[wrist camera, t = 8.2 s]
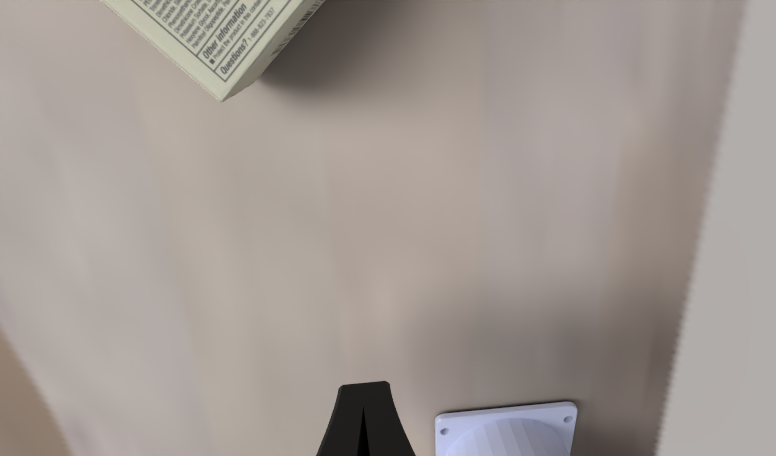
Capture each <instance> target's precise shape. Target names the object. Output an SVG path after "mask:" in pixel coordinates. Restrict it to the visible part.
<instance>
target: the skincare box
mask: <svg viewBox="0 0 776 456" xmlns="http://www.w3.org/2000/svg"><path fill="white" fill-rule="evenodd" d="M100 1H101V2H102V3H103V4H104V5H106V6H107V7H108V8H109V9H110V10H111V11H112V12H114V13H115V14H116V15H117V16H118V17H120V18H121V19H122V20H123V21H124V22H125V23H127V24H128V25H129V26H130V27H131V28H133V29H134V30H135V31H136V32H137V33H138V34H140V35H141V36H142V37H143V38H144V39H146V40H147V41H148V42H149V43H150V44H152V45H153V46H154V47H155V48H156V49H158V50H159V51H160V52H161V53H162V54H164V55H165V56H166V57H167V58H168V59H169V60H171V61H172V62H173V63H174V64H175V65H177V66H178V67H179V68H180V69H181V70H182V71H184V72H185V73H186V74H187V75H188V76H189V77H191V78H192V79H193V80H194V81H195V82H197V83H198V84H199V85H200V86H201V87H202V88H204V89H205V90H206V91H207V92H208V93H209V94H210V95H212V96H213V97H214V98H215V99H216V100H218V101H219V102H221V103H222V102H224V101H225V100H227V99H228V98H230V97H232V96H234V95H236V94H237V93H239V92H240V91H242V90H243V89H245V88H246V87H248V86H250V85H251V84H253V83H254V82H255V81H256V80H257V79H258V78H259V77H260V76H261V75H262V74H263V73H264V71H265V70H266V69H267V67H268V66H269V65H270V64H271V62H272V61H273V60H274V59H275V58H276V56H277V55H278V54H279V53H280V52H281V50H282V49H283V48H284V47H285V46H286V45H287V44H288V42H289V41H290V40H291V39H292V38H293V37H294V36H295V34H296V33H297V32H298V31H299V30H300V29H301V28H302V26H303V25H304V24H305V23H306V22H307V21H308V20H309V18H310V17H311V16H312V15H313V14H314V13H315V12H316V10H317V9H318V8H319V7H320V6H321V5H322V4H323V2H324V1H325V0H100Z"/></svg>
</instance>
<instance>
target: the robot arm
mask: <svg viewBox="0 0 776 456" xmlns="http://www.w3.org/2000/svg"><path fill="white" fill-rule="evenodd" d="M577 412H578V410H577V408H576V406H575V404H574V403H572V402H558V403H548V404H537V405H527V406H517V407H507V408H496V409H486V410H476V411H466V412H455V413H445V414H440V415H439V416H437V417H436V418H435V452H436V456H570V452H571V446H572V441H573V435H574V429H575V424H576V418H577ZM444 428H445V429H444ZM316 456H416V455H415V453H414V451H413V449H412V447H411V445H410V443H409V440H408V438H407V436H406V434H405V432H404V429H403V427H402V424H401V422H400V419H399V417H398V414H397V411H396V408H395V405H394V402H393V398H392V394H391V390H390V384H389V383H388V382H386V381H379V382H369V383H359V384H349V385H342V386H341V387H340V388H339V390H338V395H337V399H336V403H335V406H334V410H333V413H332V416H331V419H330V422H329V424H328V427H327V430H326V432H325V435H324V437H323V440H322V443H321V445H320V448H319V450H318V453H317V455H316Z"/></svg>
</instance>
